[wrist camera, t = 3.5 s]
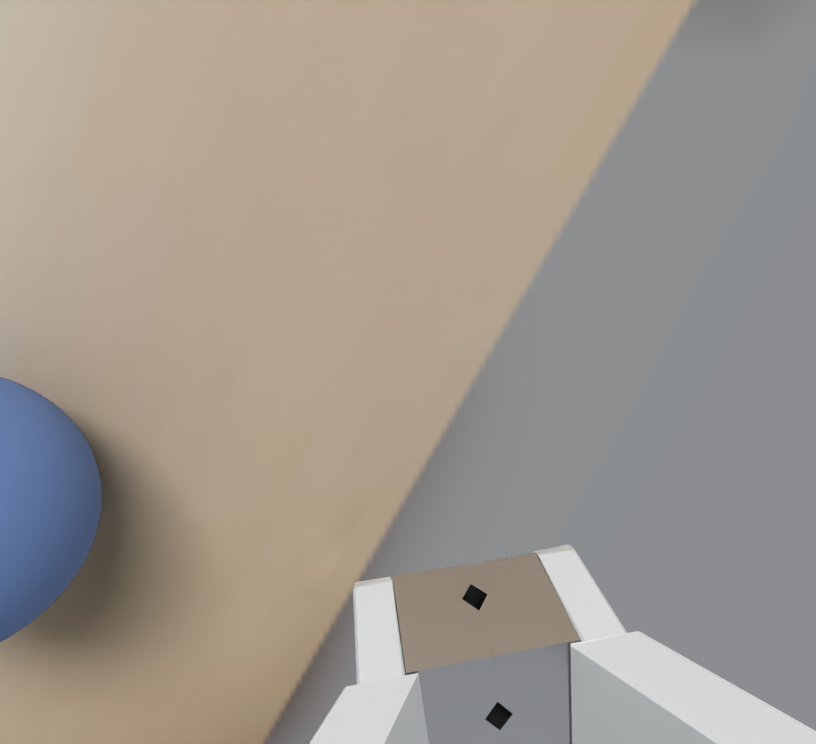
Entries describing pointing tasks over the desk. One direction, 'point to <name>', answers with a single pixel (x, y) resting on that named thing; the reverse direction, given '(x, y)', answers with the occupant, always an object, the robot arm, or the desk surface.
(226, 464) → the desk surface
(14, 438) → the ball
